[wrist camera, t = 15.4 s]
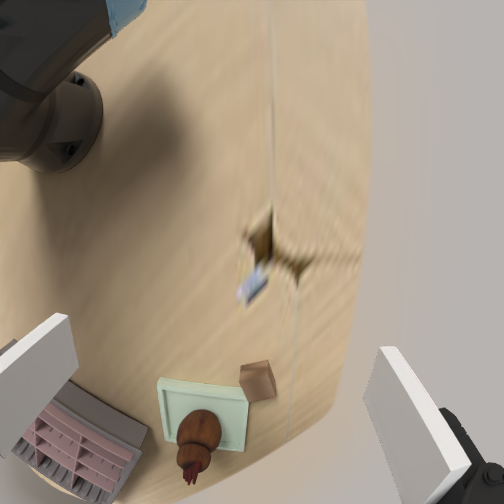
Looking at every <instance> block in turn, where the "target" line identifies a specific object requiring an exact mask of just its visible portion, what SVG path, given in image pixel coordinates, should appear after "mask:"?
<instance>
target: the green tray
mask: <svg viewBox="0 0 504 504" xmlns="http://www.w3.org/2000/svg"><path fill="white" fill-rule="evenodd" d="M157 392H158V400H159V407H160V413H161V420H162V426H163V432H164V438H165V441H167V442H173V443H177V441H176V437H177V431H178V427H179V425H180V423H181V421H182V420H183V419H184V418H185V417H186V416H187V415H188V414H189V413H190V412H192V411H194V410H198V409H205V410H209V411H211V412H213V413H214V414H215V415H216V416H217V418H218V420H219V422H220V425H221V428H222V437H221V441H220V443H219V446H218V447H217V449H220V450H229V451H240V452H244V445H245V436H246V426H247V416H248V406H249V402H248V401H247V399H246V397H245V394H244V392H243V390H242V387H231V386H221V385H212V384H204V383H196V382H189V381H182V380H176V379H169V378H163V377H160V378H159V380H158V382H157Z"/></svg>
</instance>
